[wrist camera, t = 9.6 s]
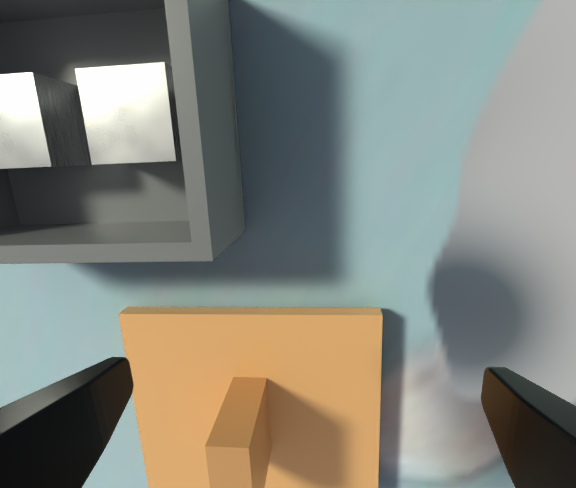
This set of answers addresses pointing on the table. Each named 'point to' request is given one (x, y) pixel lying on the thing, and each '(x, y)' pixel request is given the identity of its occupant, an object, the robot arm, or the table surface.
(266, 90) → the table surface
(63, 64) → the tub
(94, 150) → the metal block
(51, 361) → the table surface
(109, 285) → the table surface
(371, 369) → the lid
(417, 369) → the table surface
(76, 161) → the metal block
